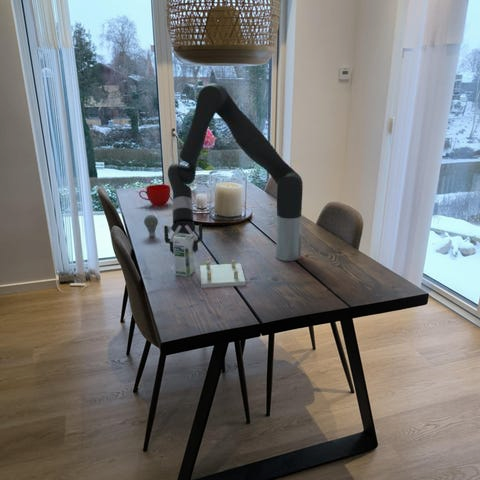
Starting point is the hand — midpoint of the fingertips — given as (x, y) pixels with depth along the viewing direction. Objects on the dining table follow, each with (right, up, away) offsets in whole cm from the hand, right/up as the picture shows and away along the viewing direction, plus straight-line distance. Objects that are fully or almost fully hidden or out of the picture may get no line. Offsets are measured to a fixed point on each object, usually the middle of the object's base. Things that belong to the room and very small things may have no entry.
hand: (184, 252), depth 155 cm
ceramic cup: (-27, +23, +85) cm, 93 cm away
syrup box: (0, -8, +3) cm, 9 cm away
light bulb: (-19, +6, +39) cm, 44 cm away
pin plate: (+13, -9, 0) cm, 16 cm away
